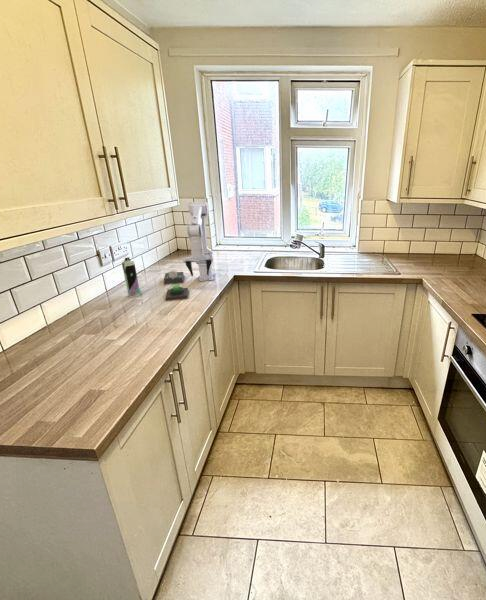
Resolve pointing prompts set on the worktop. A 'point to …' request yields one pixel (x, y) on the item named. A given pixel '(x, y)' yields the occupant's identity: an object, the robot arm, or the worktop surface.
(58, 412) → the worktop surface
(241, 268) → the worktop surface
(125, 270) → the spray can
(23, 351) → the worktop surface
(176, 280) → the control panel
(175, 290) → the button
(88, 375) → the worktop surface
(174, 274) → the dial
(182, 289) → the housing
